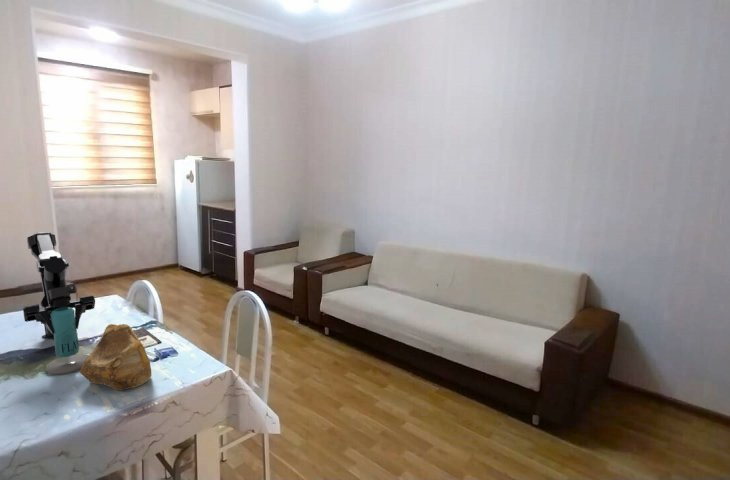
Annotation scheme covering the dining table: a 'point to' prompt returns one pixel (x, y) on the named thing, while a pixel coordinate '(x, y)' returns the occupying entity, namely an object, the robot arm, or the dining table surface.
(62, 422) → the dining table surface
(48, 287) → the robot arm
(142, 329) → the chocolate bar
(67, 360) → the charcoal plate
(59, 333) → the beverage bottle
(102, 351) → the rough brown rock
